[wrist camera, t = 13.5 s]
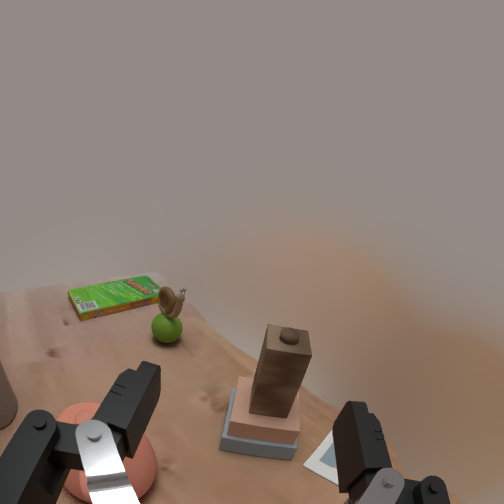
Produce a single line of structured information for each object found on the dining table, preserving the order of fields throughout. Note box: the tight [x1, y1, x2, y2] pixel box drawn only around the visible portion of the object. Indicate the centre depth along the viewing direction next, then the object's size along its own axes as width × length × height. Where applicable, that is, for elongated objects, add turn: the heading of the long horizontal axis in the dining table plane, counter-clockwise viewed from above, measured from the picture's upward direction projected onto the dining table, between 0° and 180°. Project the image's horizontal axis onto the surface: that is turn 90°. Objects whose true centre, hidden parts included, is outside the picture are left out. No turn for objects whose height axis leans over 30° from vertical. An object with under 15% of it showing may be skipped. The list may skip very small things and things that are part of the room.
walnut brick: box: [249, 324, 312, 419], centre depth 31 cm, size 4×4×11 cm
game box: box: [68, 276, 161, 321], centre depth 58 cm, size 3×10×20 cm
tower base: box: [220, 376, 300, 460], centre depth 33 cm, size 9×9×6 cm
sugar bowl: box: [56, 402, 157, 504], centre depth 20 cm, size 12×14×10 cm
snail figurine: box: [152, 287, 186, 343], centre depth 47 cm, size 5×6×12 cm
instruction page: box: [303, 430, 339, 486], centre depth 29 cm, size 10×8×1 cm
